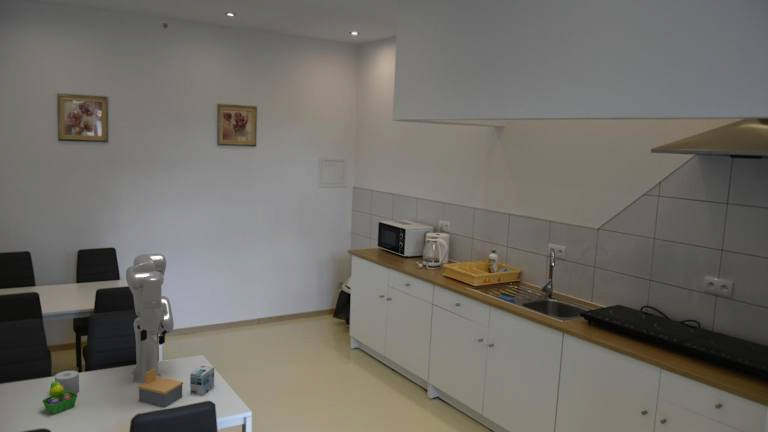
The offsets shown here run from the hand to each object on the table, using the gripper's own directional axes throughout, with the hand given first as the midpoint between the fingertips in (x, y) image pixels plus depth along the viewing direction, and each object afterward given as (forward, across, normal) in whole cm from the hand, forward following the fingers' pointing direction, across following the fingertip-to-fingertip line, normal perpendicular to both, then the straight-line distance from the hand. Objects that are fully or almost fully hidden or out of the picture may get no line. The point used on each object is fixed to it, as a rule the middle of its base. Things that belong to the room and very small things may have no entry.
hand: (152, 341), depth 253 cm
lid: (+20, +5, -1) cm, 21 cm away
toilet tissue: (+27, -38, -10) cm, 48 cm away
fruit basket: (+27, -29, -23) cm, 45 cm away
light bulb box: (+26, +16, +14) cm, 34 cm away
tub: (+26, +5, -1) cm, 27 cm away
